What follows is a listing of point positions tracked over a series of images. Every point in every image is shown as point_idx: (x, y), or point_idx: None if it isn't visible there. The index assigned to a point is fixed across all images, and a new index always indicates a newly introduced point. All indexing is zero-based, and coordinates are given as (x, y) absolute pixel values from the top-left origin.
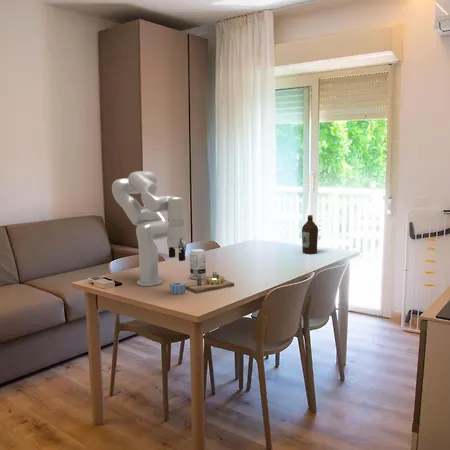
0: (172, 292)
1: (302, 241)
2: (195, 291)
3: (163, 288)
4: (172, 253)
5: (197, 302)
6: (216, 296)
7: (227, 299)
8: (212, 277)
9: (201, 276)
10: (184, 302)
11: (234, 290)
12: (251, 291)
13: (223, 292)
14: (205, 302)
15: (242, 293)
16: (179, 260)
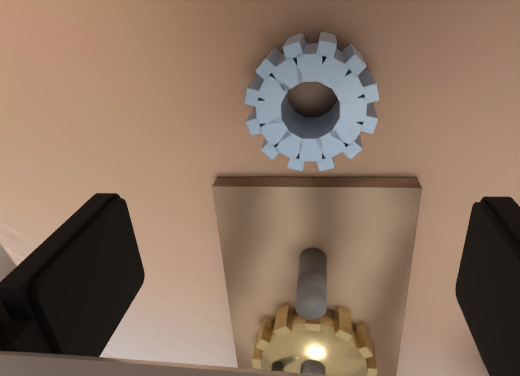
0: (290, 38)
1: None
2: (220, 182)
3: (490, 42)
4: (492, 300)
5: (33, 92)
6: None
7: None
8: (322, 362)
9: None
10: (56, 17)
11: (175, 339)
12: None
13: (166, 291)
14: (22, 131)
15: (114, 335)
16: (96, 199)
